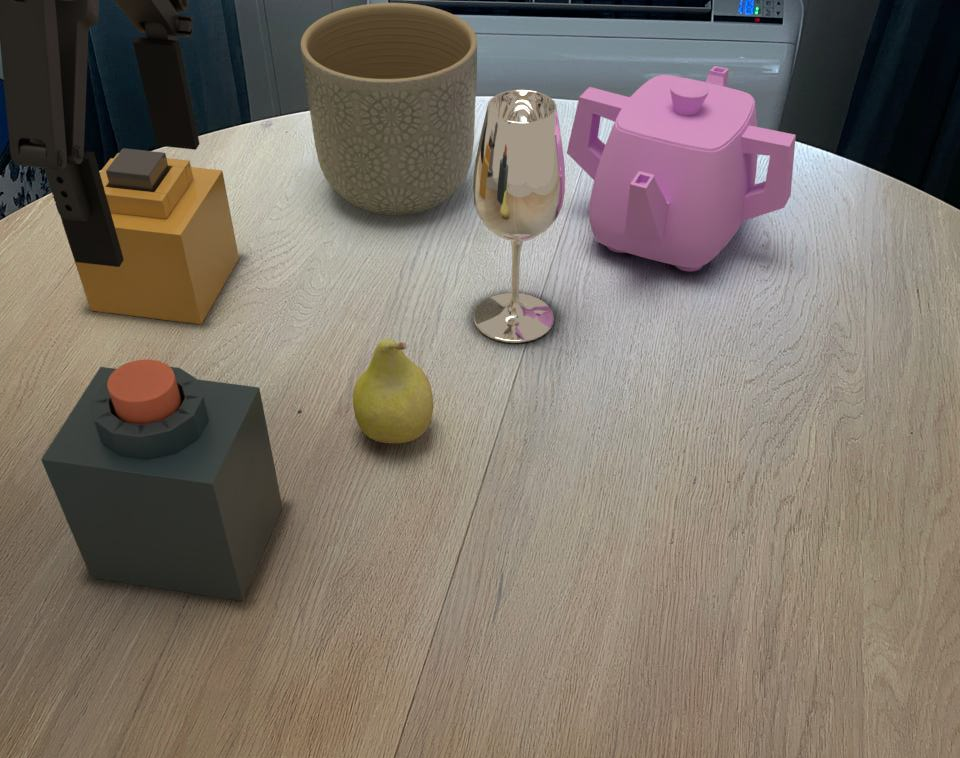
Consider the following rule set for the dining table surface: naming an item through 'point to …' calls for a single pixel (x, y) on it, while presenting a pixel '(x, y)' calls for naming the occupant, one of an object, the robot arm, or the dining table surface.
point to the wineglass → (518, 200)
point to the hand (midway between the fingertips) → (141, 200)
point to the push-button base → (166, 247)
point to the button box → (169, 488)
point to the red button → (144, 391)
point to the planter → (392, 103)
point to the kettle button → (137, 170)
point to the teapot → (678, 167)
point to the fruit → (393, 396)
